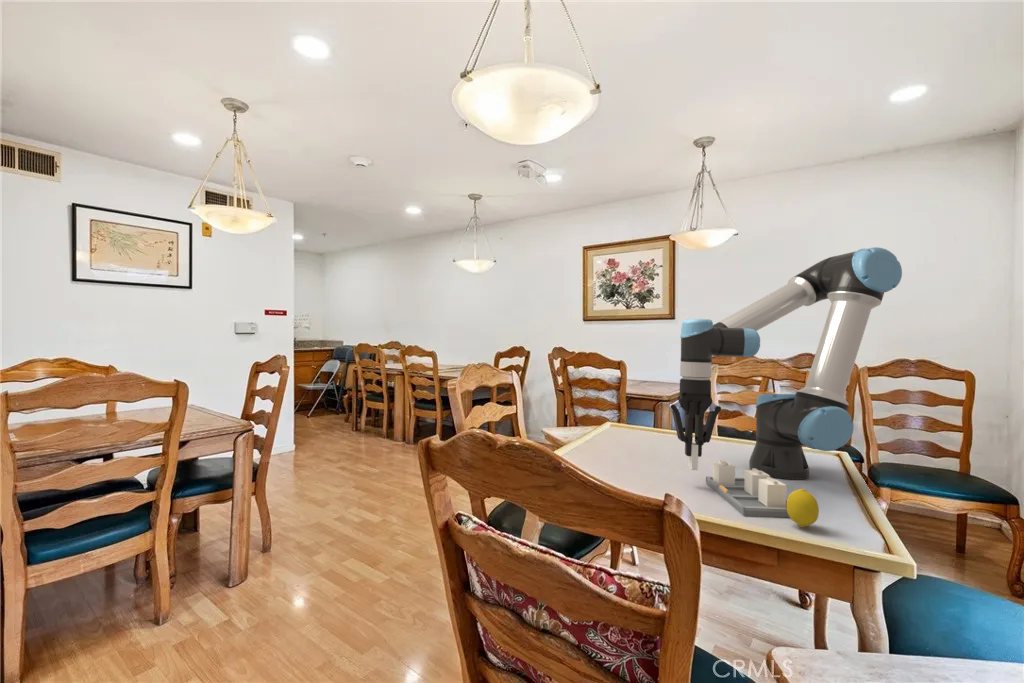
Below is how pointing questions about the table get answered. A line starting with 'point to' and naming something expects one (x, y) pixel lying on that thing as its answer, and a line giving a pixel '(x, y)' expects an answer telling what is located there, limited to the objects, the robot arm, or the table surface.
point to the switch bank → (745, 500)
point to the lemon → (802, 508)
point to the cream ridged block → (753, 480)
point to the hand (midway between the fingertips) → (692, 468)
